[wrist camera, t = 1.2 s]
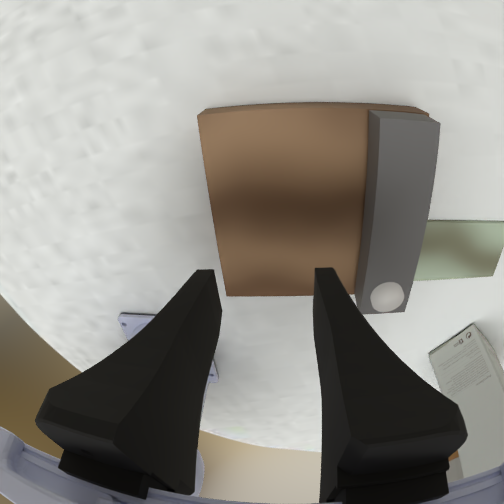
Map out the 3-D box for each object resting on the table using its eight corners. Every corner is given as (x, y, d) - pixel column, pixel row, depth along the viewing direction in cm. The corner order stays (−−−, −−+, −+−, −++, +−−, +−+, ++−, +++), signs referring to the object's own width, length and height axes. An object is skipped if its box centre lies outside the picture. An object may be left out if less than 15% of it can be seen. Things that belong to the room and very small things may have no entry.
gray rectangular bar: (396, 290, 20) (405, 316, 18) (354, 292, 20) (360, 319, 18) (423, 114, 13) (444, 125, 11) (368, 110, 14) (382, 119, 12)
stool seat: (491, 273, 21) (501, 289, 19) (231, 283, 24) (227, 301, 22) (528, 127, 14) (545, 136, 12) (205, 109, 17) (196, 115, 15)
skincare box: (426, 353, 27) (458, 492, 15) (476, 318, 24) (527, 458, 12) (455, 377, 30) (483, 490, 17) (497, 349, 27) (536, 462, 14)
